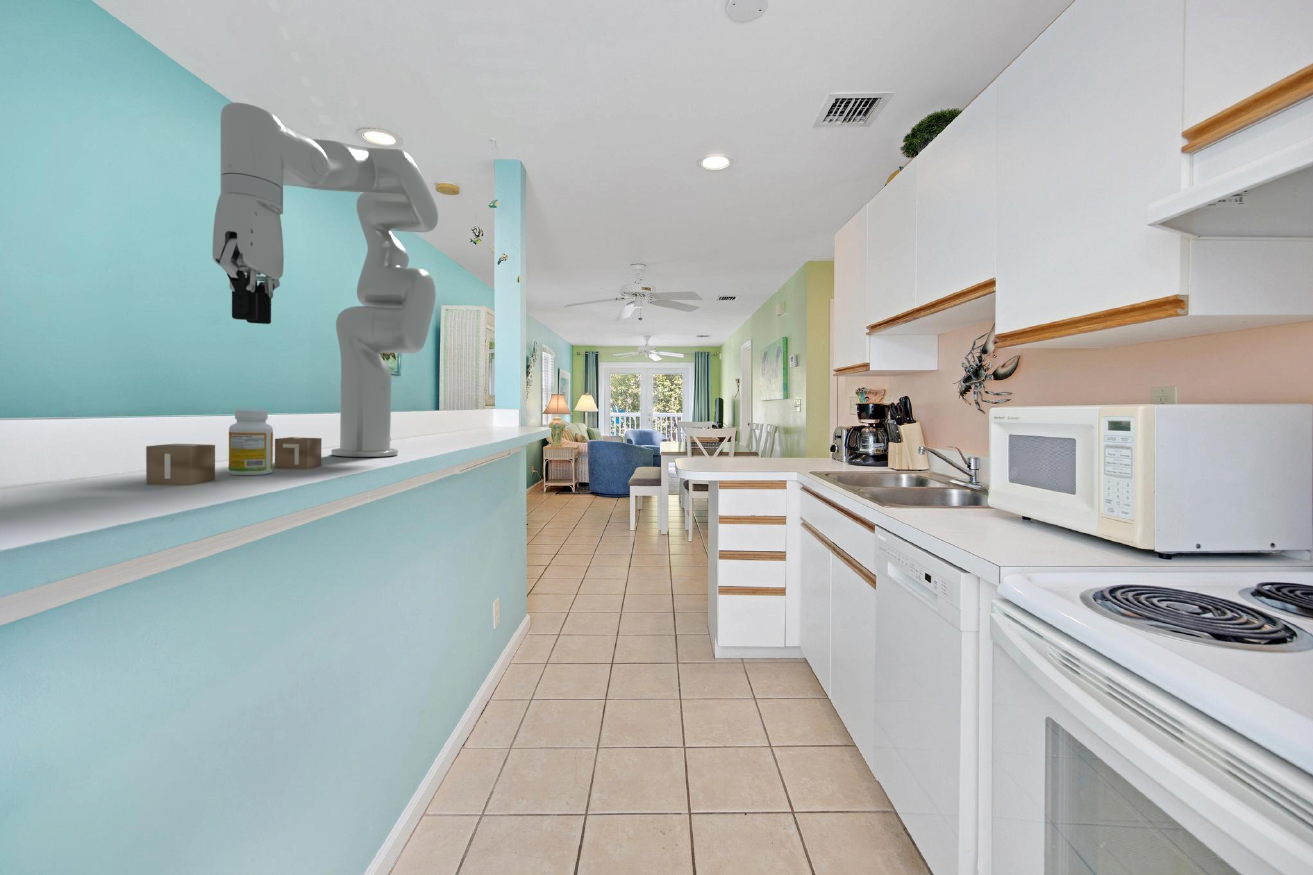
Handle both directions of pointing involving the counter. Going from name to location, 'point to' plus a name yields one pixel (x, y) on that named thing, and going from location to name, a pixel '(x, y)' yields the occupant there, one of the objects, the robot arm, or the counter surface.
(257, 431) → the supplement bottle
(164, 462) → the walnut block
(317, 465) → the walnut block
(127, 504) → the counter surface
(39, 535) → the counter surface
